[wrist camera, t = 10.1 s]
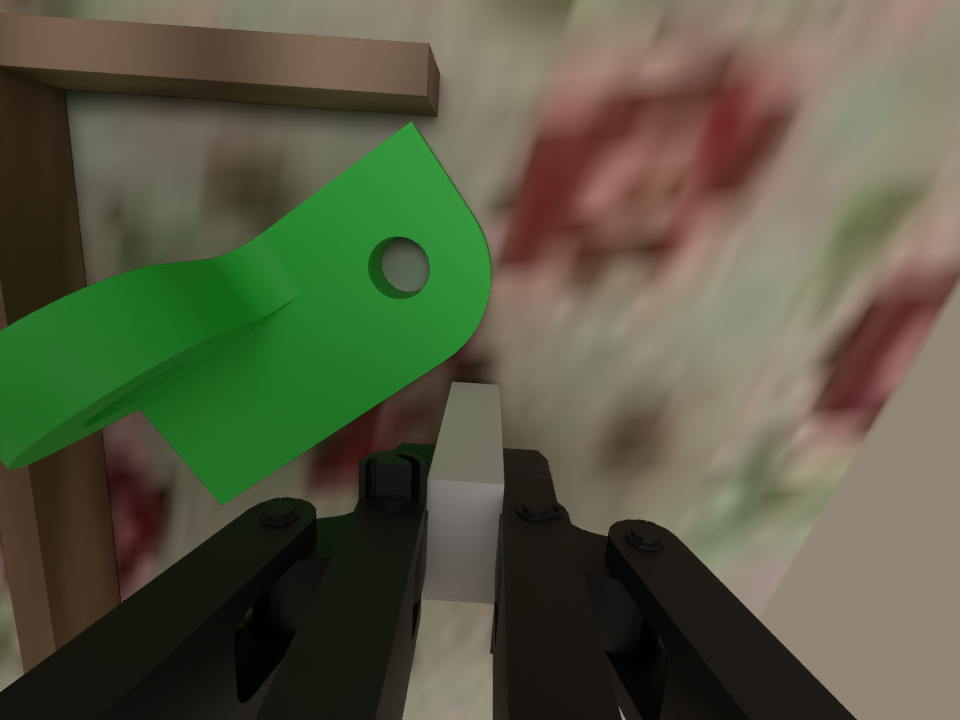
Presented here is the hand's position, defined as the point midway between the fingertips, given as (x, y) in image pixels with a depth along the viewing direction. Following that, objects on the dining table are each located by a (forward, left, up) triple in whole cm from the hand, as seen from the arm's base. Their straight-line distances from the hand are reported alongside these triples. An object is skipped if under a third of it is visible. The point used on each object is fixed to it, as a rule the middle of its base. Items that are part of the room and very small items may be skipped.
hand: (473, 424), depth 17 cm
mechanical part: (-5, +3, -2) cm, 6 cm away
